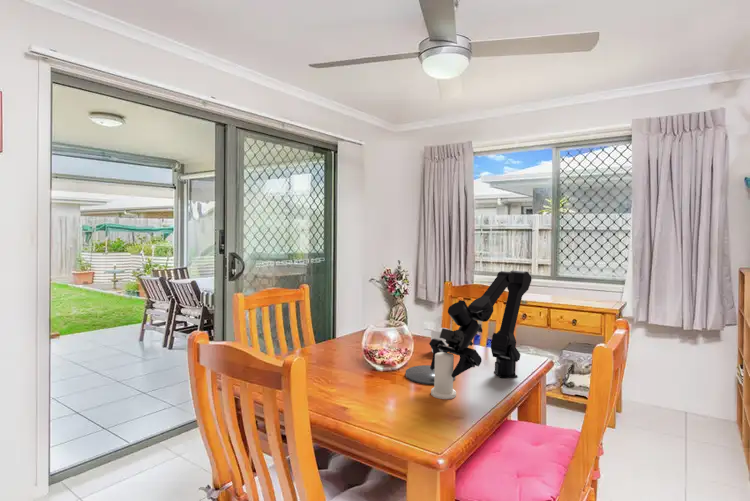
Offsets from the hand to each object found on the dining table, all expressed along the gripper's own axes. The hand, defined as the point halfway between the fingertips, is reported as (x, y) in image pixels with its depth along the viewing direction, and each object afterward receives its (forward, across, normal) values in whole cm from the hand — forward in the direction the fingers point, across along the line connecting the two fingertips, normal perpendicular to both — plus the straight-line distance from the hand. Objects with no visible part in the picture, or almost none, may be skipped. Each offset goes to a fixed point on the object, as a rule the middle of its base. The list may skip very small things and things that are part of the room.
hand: (441, 372), depth 143 cm
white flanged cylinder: (+4, 0, +6) cm, 7 cm away
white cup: (-21, -36, +31) cm, 52 cm away
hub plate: (-2, -15, +13) cm, 20 cm away
